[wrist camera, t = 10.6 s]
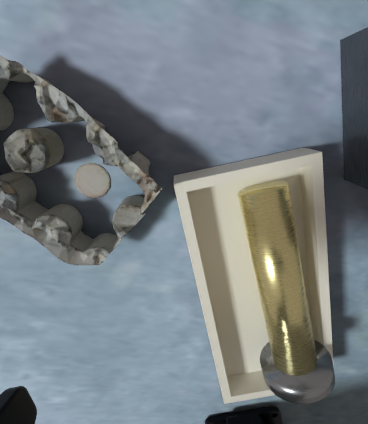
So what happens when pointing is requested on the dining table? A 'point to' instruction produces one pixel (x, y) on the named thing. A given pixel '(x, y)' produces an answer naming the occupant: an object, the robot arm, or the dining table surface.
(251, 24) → the dining table surface
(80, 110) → the egg carton
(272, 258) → the pin
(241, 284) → the tray
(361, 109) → the block
